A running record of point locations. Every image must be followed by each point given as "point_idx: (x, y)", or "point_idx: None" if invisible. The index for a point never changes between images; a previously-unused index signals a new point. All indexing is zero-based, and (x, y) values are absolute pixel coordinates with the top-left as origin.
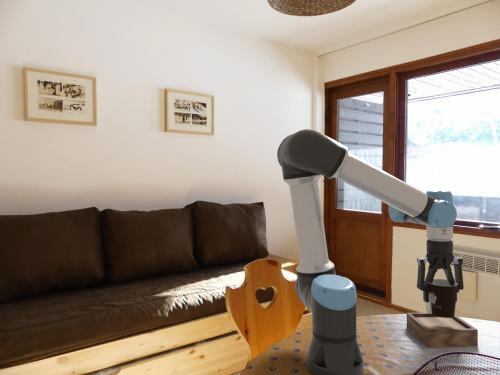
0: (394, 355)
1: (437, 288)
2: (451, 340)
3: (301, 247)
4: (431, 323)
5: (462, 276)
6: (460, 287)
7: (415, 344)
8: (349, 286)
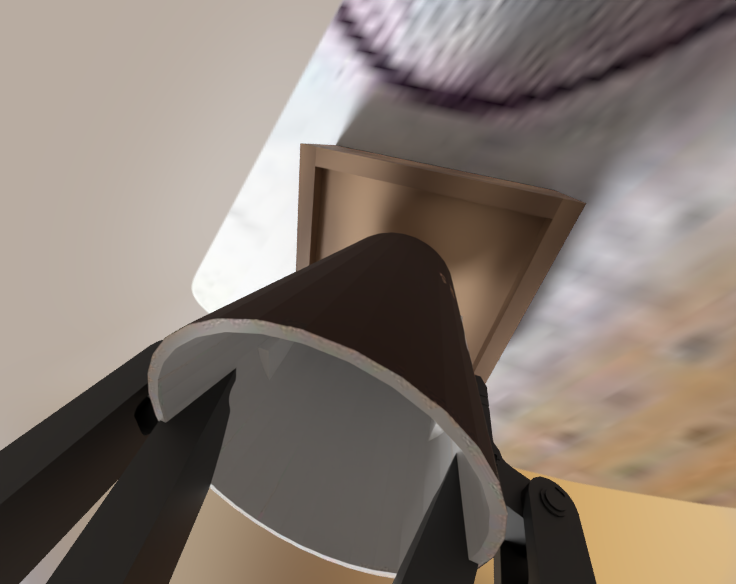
0: None
1: (475, 409)
2: (440, 168)
3: None
4: None
5: (12, 443)
6: None
7: (581, 232)
8: None
